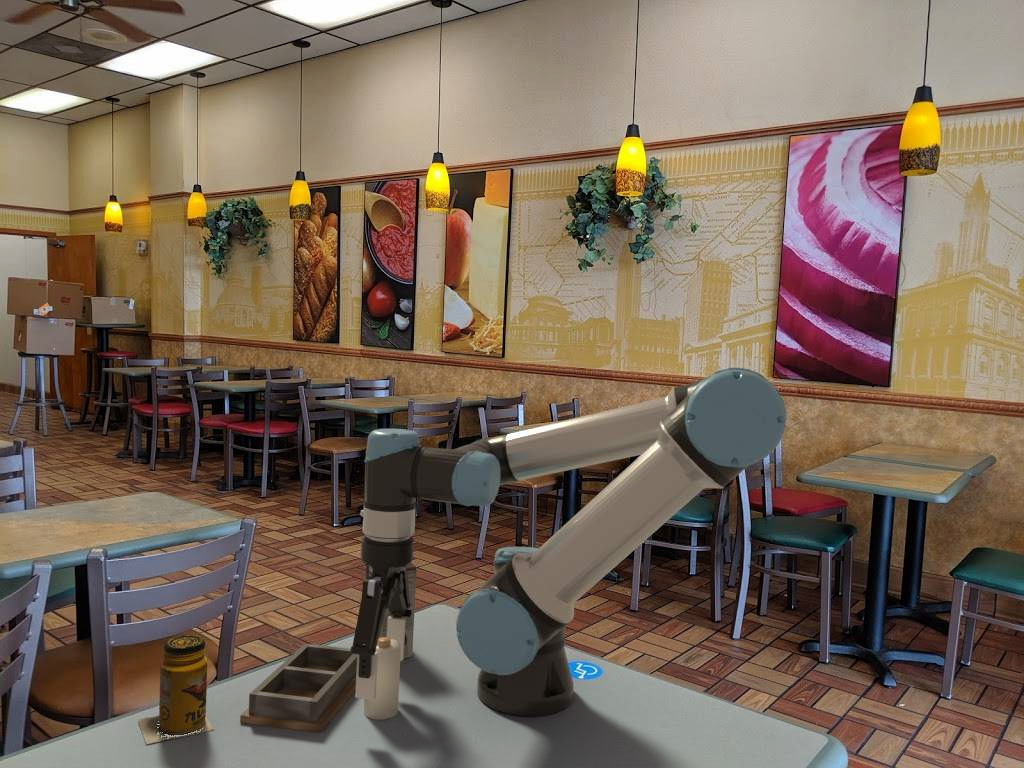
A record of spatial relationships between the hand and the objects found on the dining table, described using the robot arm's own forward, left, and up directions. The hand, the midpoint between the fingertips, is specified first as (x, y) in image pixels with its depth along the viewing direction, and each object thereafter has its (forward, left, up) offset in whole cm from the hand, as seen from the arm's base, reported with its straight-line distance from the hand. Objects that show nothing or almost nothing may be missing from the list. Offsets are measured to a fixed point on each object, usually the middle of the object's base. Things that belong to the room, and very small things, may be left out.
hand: (380, 677), depth 116 cm
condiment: (+26, +11, -5) cm, 29 cm away
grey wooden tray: (+12, -2, -5) cm, 13 cm away
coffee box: (+6, -22, -5) cm, 23 cm away
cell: (0, 0, -5) cm, 5 cm away
